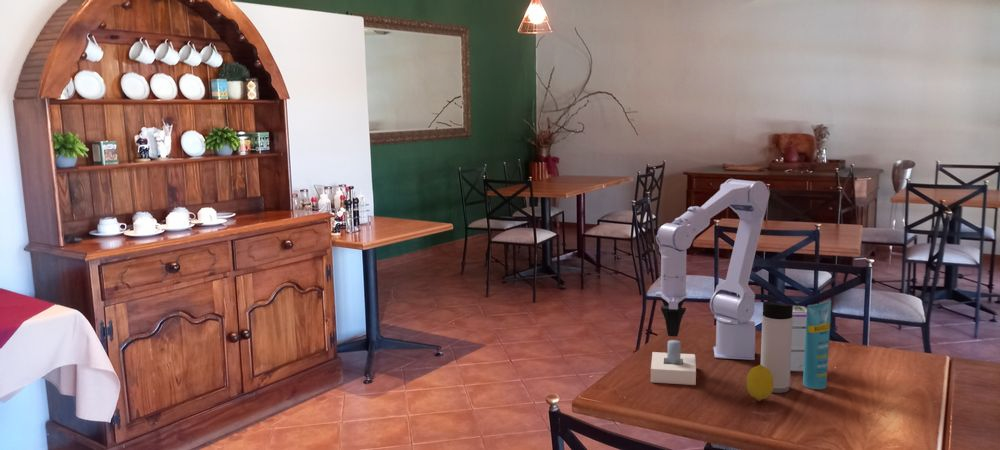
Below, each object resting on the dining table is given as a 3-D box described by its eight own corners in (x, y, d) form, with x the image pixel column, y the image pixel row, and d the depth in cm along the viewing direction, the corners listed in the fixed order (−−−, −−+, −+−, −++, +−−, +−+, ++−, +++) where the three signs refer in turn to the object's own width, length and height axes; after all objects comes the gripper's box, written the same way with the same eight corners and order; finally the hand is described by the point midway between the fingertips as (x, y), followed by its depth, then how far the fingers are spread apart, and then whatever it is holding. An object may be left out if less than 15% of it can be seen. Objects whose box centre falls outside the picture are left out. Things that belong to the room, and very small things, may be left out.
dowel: (679, 368, 181) (680, 340, 180) (680, 373, 178) (680, 344, 177) (666, 368, 181) (667, 339, 180) (667, 372, 178) (667, 343, 177)
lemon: (776, 405, 160) (778, 369, 159) (750, 406, 160) (751, 369, 159) (768, 395, 166) (769, 360, 165) (742, 396, 166) (743, 360, 165)
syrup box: (809, 371, 180) (811, 312, 177) (782, 370, 181) (785, 311, 178) (803, 363, 185) (806, 305, 183) (778, 362, 186) (780, 304, 184)
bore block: (694, 367, 184) (694, 354, 184) (695, 385, 173) (696, 371, 172) (652, 364, 187) (652, 352, 186) (650, 382, 175) (650, 368, 175)
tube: (814, 392, 167) (818, 307, 164) (794, 386, 171) (798, 302, 168) (834, 385, 171) (838, 302, 168) (815, 379, 175) (819, 297, 172)
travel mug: (757, 391, 168) (760, 303, 165) (762, 381, 174) (765, 296, 171) (787, 395, 166) (791, 306, 162) (791, 385, 171) (795, 298, 168)
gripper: (656, 267, 186) (655, 321, 188) (655, 281, 172) (654, 339, 174) (686, 268, 185) (685, 322, 187) (687, 282, 171) (686, 341, 173)
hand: (672, 331), depth 181 cm, fingers open, 7 cm apart
